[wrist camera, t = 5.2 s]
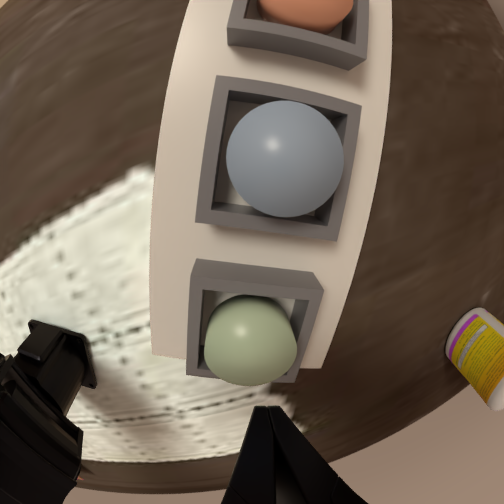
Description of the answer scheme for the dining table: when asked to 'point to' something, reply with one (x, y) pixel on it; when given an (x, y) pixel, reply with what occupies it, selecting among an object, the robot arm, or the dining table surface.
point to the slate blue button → (285, 158)
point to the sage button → (249, 340)
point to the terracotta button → (305, 13)
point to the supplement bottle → (480, 354)
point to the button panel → (227, 198)
